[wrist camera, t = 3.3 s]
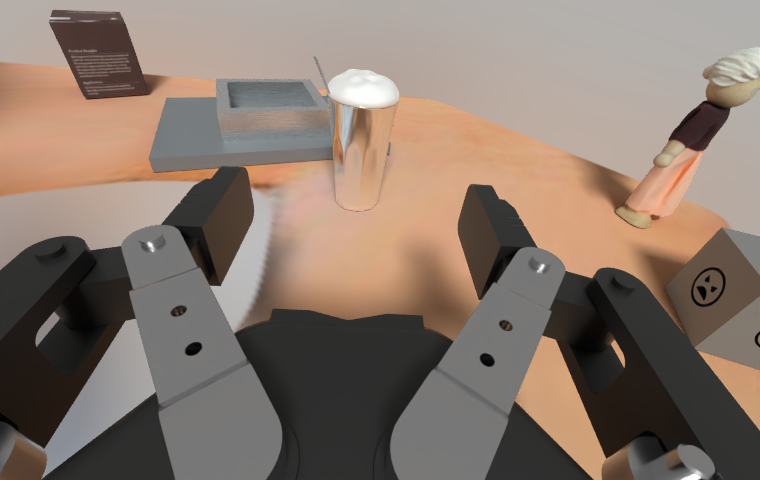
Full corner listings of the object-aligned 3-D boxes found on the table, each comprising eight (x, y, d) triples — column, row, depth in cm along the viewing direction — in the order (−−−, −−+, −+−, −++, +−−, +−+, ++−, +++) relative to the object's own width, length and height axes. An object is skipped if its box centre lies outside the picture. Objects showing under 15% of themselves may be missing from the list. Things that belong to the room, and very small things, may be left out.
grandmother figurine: (658, 242, 26) (811, 61, 18) (605, 220, 27) (722, 45, 19) (669, 206, 30) (793, 49, 22) (623, 188, 32) (723, 38, 24)
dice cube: (692, 349, 18) (769, 288, 15) (664, 287, 22) (721, 227, 19) (800, 383, 17) (909, 325, 14) (752, 312, 21) (828, 253, 18)
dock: (153, 172, 26) (136, 126, 24) (169, 109, 36) (158, 72, 33) (389, 154, 33) (394, 117, 30) (348, 105, 42) (349, 74, 40)
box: (144, 81, 42) (121, 11, 37) (150, 96, 38) (125, 20, 34) (84, 84, 39) (51, 8, 34) (83, 100, 35) (46, 18, 31)
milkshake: (309, 190, 26) (303, 47, 20) (370, 181, 28) (383, 49, 22) (327, 224, 23) (327, 67, 17) (395, 211, 25) (417, 67, 19)
